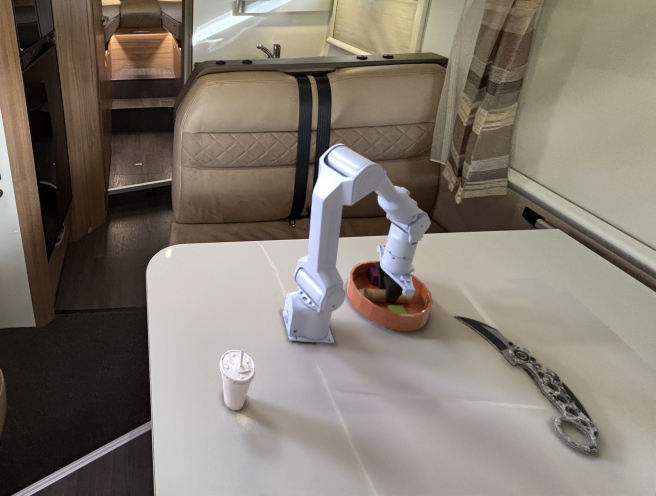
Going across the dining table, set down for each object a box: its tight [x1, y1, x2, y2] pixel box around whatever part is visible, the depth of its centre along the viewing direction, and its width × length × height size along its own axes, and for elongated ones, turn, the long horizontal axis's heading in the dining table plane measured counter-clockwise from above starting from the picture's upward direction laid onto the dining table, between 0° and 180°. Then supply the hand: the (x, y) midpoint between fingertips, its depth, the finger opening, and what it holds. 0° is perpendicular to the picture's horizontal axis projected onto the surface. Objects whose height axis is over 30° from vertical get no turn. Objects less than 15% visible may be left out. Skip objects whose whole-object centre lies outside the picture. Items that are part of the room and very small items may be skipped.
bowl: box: [346, 260, 434, 332], centre depth 102 cm, size 17×17×5 cm
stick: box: [364, 288, 412, 304], centre depth 102 cm, size 10×3×3 cm, turn 85°
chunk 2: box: [387, 305, 407, 314], centre depth 96 cm, size 3×3×3 cm
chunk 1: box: [367, 267, 379, 286], centre depth 108 cm, size 3×3×3 cm
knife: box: [453, 315, 600, 455], centre depth 85 cm, size 28×2×10 cm
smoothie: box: [219, 347, 256, 411], centre depth 78 cm, size 6×6×14 cm
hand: (387, 295), depth 102 cm, fingers closed on stick, 3 cm apart
